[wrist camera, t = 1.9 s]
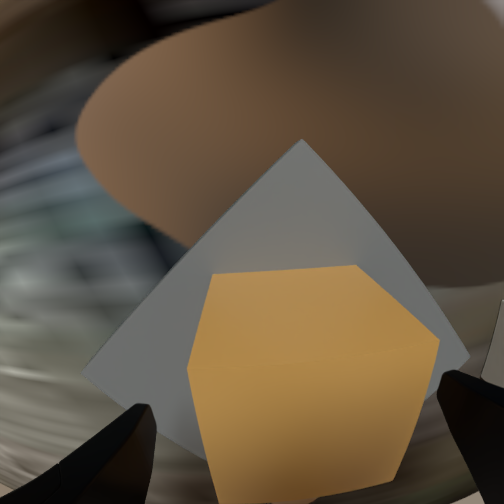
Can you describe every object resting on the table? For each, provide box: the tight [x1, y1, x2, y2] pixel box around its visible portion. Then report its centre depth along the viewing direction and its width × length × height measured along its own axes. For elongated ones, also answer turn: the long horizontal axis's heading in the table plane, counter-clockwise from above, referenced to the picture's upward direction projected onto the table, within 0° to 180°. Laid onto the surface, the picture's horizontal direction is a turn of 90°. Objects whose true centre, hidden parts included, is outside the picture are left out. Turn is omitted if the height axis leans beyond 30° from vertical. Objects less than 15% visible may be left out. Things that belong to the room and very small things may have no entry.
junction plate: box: [81, 139, 470, 504], centre depth 12 cm, size 14×14×5 cm
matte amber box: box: [187, 265, 440, 504], centre depth 9 cm, size 5×5×6 cm
